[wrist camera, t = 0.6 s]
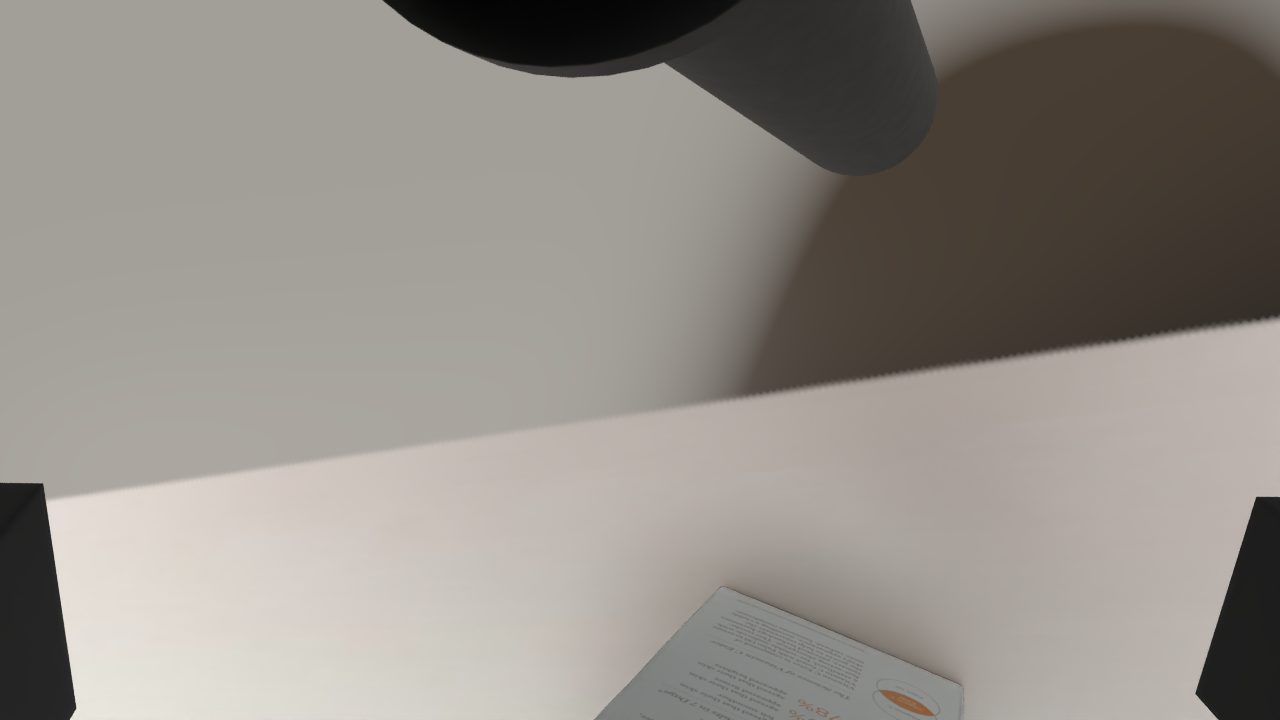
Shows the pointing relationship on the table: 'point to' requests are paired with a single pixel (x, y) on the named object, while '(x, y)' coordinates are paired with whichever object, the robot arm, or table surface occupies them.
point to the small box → (777, 673)
